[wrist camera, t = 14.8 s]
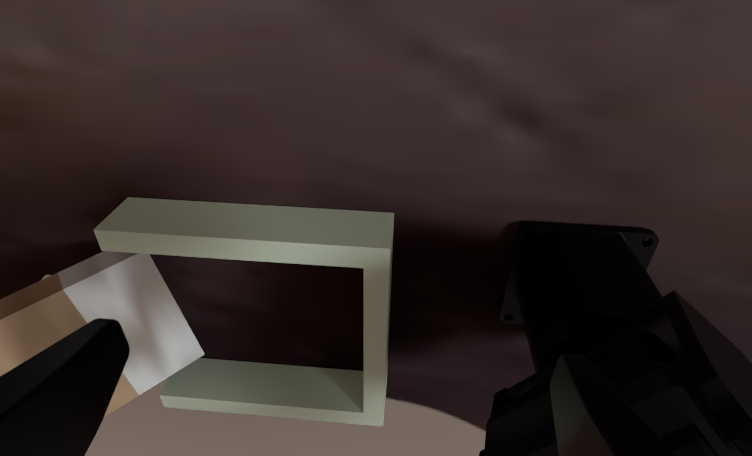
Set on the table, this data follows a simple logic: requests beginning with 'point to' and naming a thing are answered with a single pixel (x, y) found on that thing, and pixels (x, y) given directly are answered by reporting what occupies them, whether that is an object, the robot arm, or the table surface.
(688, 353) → the robot arm
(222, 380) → the green c-shaped bracket
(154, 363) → the two-tone wooden slab
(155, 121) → the table surface
